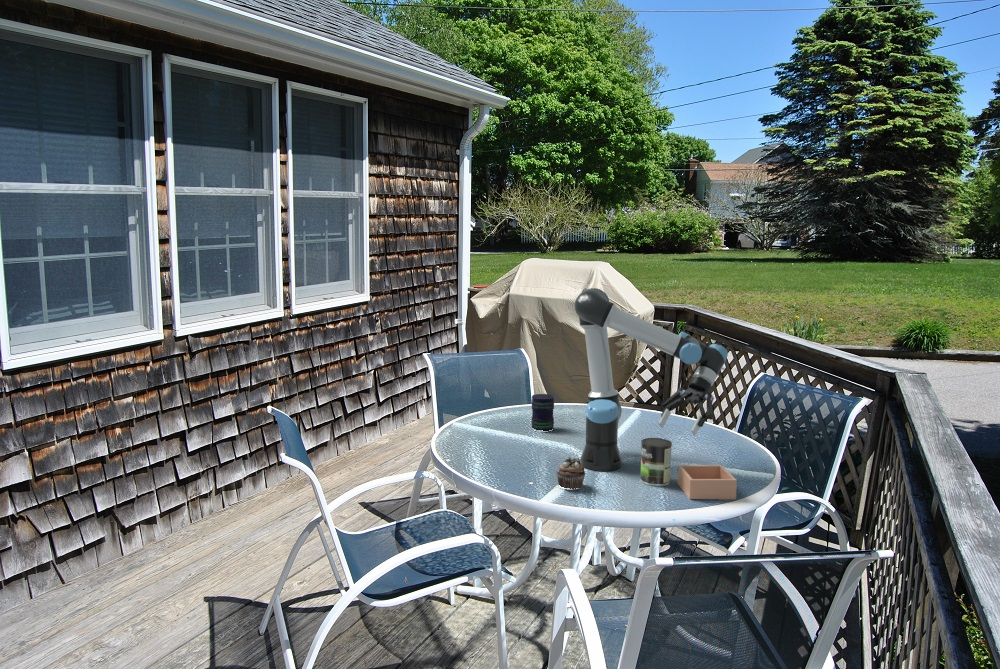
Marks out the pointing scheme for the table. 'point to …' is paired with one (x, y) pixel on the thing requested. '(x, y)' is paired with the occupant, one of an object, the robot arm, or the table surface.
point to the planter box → (706, 482)
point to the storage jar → (542, 412)
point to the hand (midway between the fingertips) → (676, 429)
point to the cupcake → (571, 473)
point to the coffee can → (655, 461)
